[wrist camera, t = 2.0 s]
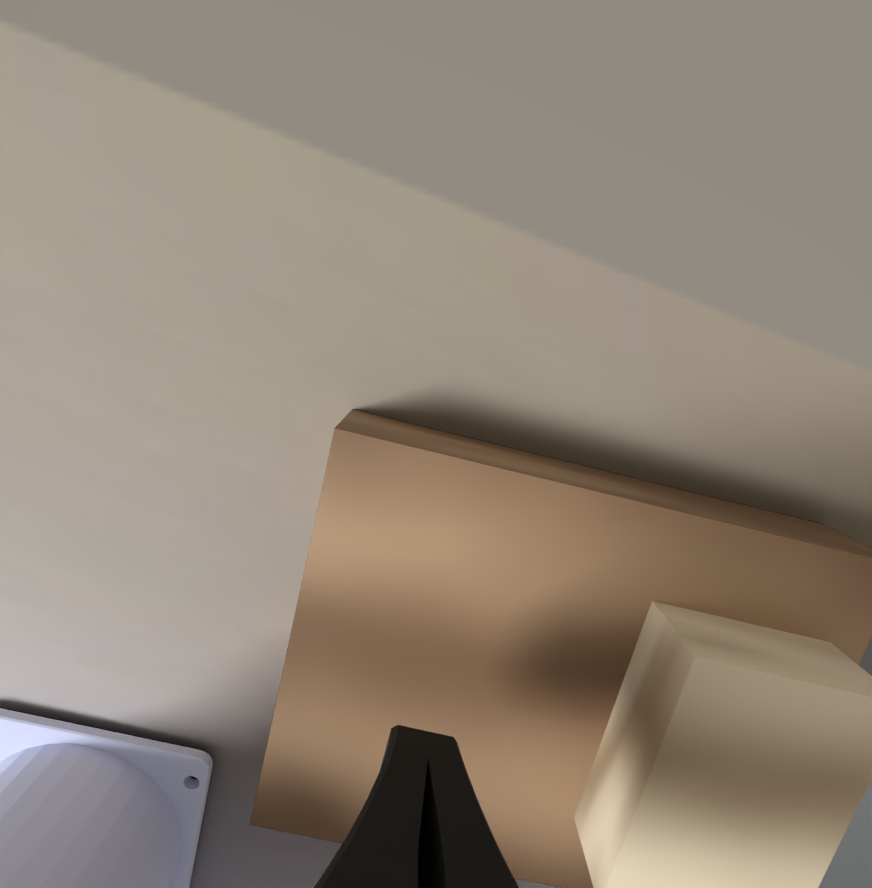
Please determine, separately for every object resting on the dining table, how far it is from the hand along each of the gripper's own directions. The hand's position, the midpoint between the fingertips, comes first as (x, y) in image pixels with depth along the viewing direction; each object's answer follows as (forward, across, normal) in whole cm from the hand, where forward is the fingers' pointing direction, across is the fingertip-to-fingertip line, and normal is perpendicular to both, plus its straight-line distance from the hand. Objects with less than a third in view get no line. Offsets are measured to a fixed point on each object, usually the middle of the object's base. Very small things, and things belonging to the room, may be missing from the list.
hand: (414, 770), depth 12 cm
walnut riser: (+6, -4, 0) cm, 8 cm away
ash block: (+3, -8, 0) cm, 9 cm away
